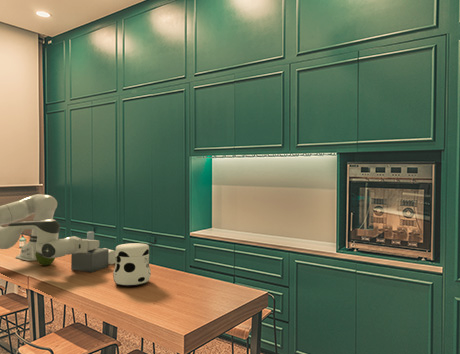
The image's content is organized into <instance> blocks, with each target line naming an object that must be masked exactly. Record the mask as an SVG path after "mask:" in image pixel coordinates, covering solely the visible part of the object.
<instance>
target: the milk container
mask: <svg viewBox="0 0 460 354" xmlns="http://www.w3.org/2000/svg"><path fill="white" fill-rule="evenodd" d="M115 251H116V256H115V260H116V262H115V263H114V269H113V272H112V276H113V278H112V279H113V281H114V284H116V285H118V286H120V287H121V286H122V287H128V288H129V287H137V286H141V285H145V284H146V283H148V282H149V281H150V279H151V275H152V273H151V268H150V267H151V266H150V246H149V244H146V243H142V242H141V243H139V242H138V243H135V242H134V243H124V244H119V245H116V247H115Z"/></svg>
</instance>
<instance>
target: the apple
mask: <svg viewBox="0 0 460 354" xmlns="http://www.w3.org/2000/svg"><path fill="white" fill-rule="evenodd" d="M35 255H36V259H37V260H36V262H38V264H40V265H41V266H50V265H51V264H53V263H54V261H55V259H56V258H45V257H42V256H40V255H39V254H38V253H37V252H36V254H35Z"/></svg>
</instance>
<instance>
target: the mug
mask: <svg viewBox="0 0 460 354" xmlns="http://www.w3.org/2000/svg"><path fill="white" fill-rule="evenodd" d="M103 249H107V248H106V247H103ZM108 249H109V248H108ZM115 256H116V250H113V249H109V254H108V265H115V262H116V260H115Z"/></svg>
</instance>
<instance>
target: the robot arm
mask: <svg viewBox="0 0 460 354" xmlns="http://www.w3.org/2000/svg"><path fill="white" fill-rule="evenodd" d="M57 207H58V201H57V199H56V198H55V197H54V196H52V195H49V194H41V193H37V194H33V195H31V196H28V197H24V198H23V199H20V200H16V201H12V202H9V203H6V204H3V205H0V250H9V249H10V248H13V247H14V246H15V245H16V244H17V242H18V241H19V240H20V238H21V235H22V233H23V232H24V231H25V230H31V235H29V236H28V237H27V238H28V239H29V240H28V242H26V243H25V244H24V245H23V246H22V247H21V248H20V254H18V255H16V256H15V258H16V259H18V260H23V261H27V262H30V261H31V262H32V261H37V259H36V255H35V254H36V252H37V253H38V254H39V255H40V256H42V257H45V258H55V259H57V258H62V257H64V256H66V255H67V256H69V255H72V254H75V253H85V252H87V251H89V250H93V249H96V248H100V240H96V239H94V240H89V239H87V238H81V237H79V236H75V235H74V236H68V237H64V238H59V234H60V229H61V224H60V223H59V222H58V221H57V220H56V219H54V215H55V212H56V209H57ZM32 215H33V220H25V219H26V218H28V217H30V216H32ZM22 220H24V221H22ZM4 225H7V226H4Z"/></svg>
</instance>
